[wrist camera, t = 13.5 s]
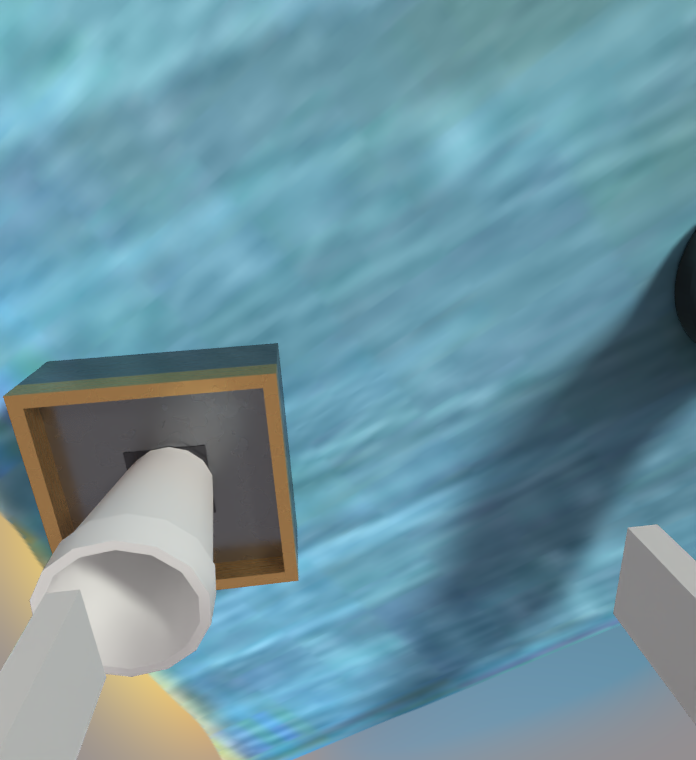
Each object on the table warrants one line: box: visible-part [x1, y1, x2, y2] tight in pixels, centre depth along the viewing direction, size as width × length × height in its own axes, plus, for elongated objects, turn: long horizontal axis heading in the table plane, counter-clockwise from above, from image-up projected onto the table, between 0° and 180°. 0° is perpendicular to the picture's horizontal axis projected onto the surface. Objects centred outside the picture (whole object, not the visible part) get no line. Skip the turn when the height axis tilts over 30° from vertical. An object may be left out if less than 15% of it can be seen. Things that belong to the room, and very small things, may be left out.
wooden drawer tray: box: [3, 343, 298, 590], centre depth 43 cm, size 20×18×7 cm
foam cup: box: [30, 447, 216, 677], centre depth 35 cm, size 10×9×13 cm
